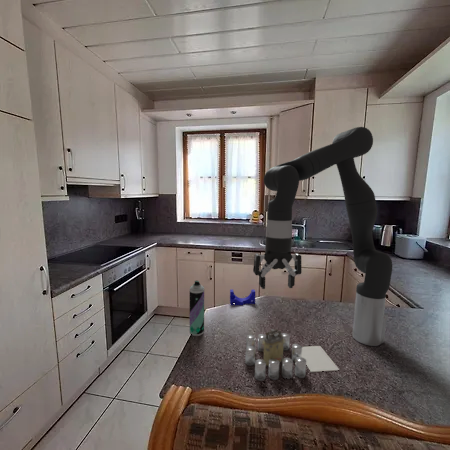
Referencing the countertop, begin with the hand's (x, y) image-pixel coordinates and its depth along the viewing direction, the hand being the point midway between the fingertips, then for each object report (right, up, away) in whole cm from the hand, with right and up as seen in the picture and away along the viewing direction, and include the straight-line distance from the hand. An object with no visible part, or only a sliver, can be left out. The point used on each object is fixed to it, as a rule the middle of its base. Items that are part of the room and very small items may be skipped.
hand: (276, 287), depth 77 cm
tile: (+14, -24, +5) cm, 28 cm away
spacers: (0, -24, +3) cm, 24 cm away
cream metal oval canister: (0, -24, +3) cm, 24 cm away
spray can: (-26, -22, +19) cm, 39 cm away
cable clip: (-7, -19, +46) cm, 50 cm away
